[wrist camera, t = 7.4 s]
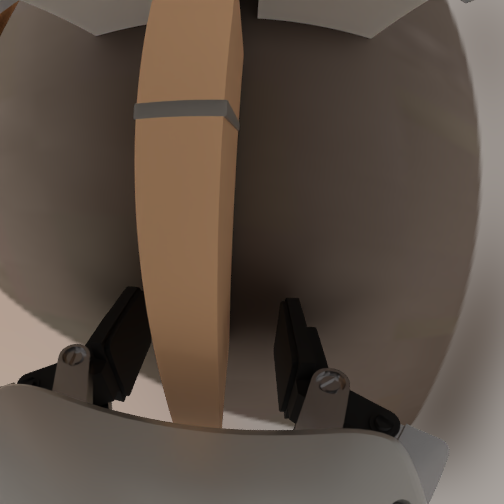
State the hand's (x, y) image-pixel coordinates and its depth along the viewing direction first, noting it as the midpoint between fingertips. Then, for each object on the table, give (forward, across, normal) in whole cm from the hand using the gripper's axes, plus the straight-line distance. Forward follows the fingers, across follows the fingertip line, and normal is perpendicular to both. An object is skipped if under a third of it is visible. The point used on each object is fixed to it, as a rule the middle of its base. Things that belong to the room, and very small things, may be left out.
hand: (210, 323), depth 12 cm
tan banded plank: (+1, 0, -4) cm, 5 cm away
